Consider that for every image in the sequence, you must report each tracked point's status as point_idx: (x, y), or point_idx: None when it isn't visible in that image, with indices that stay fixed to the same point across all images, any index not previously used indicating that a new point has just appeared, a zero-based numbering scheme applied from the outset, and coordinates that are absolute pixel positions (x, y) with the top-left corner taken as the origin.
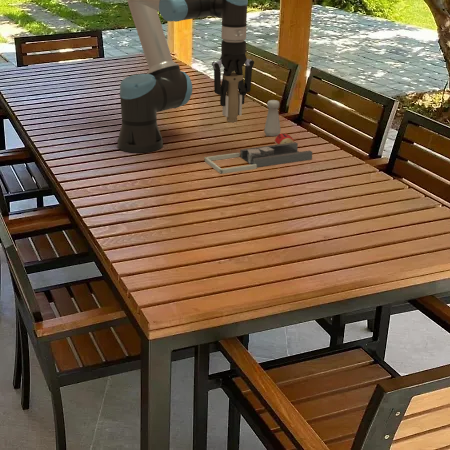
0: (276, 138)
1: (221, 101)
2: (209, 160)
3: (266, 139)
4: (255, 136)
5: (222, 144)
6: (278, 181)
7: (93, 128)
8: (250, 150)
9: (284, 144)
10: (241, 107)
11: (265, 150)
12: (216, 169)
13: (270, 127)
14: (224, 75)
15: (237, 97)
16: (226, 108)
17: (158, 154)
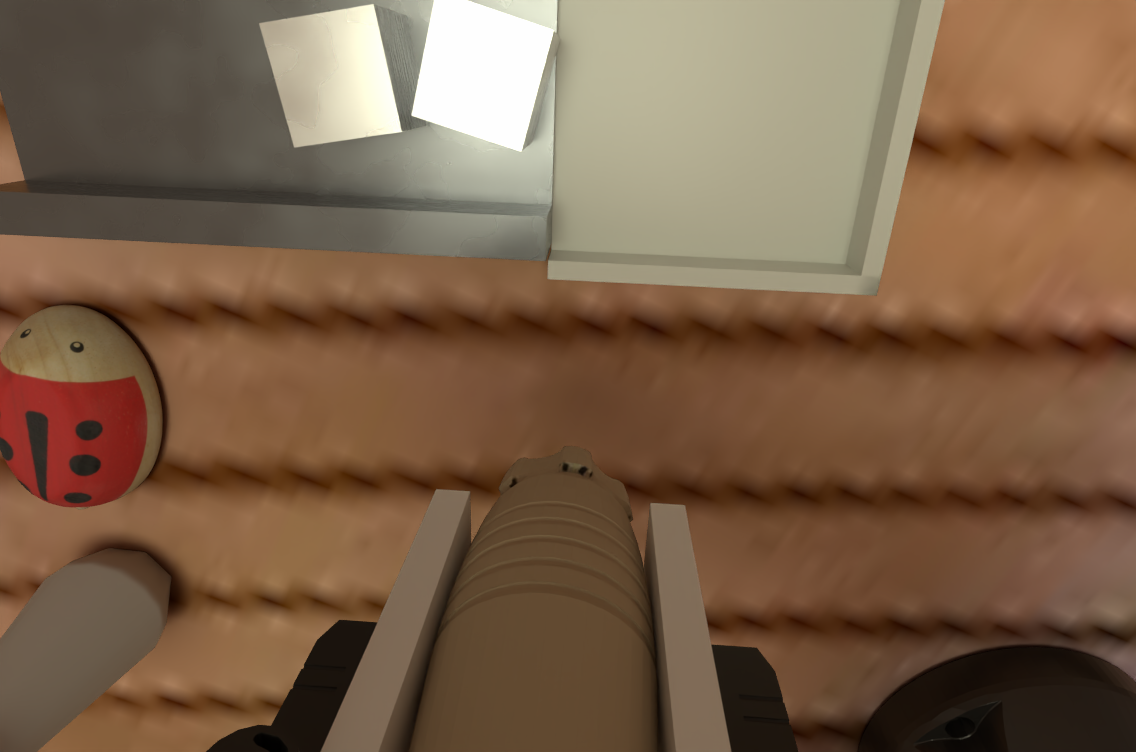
0: (121, 458)
1: (786, 736)
2: (890, 195)
3: (188, 554)
4: (241, 629)
5: None
6: None
7: None
8: (505, 109)
9: (100, 215)
10: (409, 565)
11: (359, 33)
12: None
13: (103, 612)
14: None
15: (454, 720)
16: (691, 590)
17: (1006, 590)
